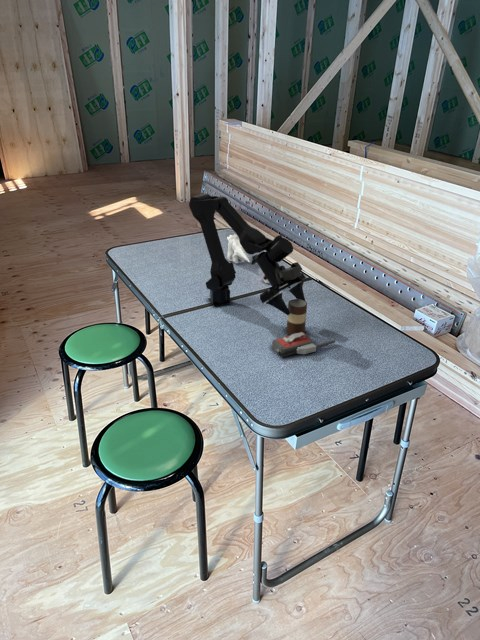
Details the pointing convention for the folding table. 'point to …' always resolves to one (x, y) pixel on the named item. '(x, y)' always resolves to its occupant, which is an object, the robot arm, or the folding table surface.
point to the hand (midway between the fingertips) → (297, 309)
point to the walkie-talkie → (296, 344)
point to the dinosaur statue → (236, 250)
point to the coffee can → (296, 316)
